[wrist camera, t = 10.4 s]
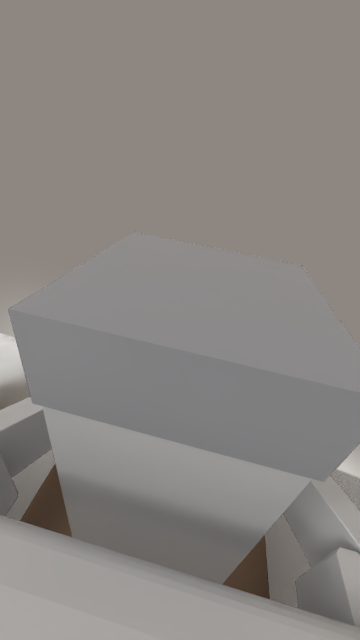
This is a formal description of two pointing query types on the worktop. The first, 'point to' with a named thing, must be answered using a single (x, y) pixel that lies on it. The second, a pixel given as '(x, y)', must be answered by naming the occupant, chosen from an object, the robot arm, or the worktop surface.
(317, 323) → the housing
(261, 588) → the stand
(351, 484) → the worktop surface
